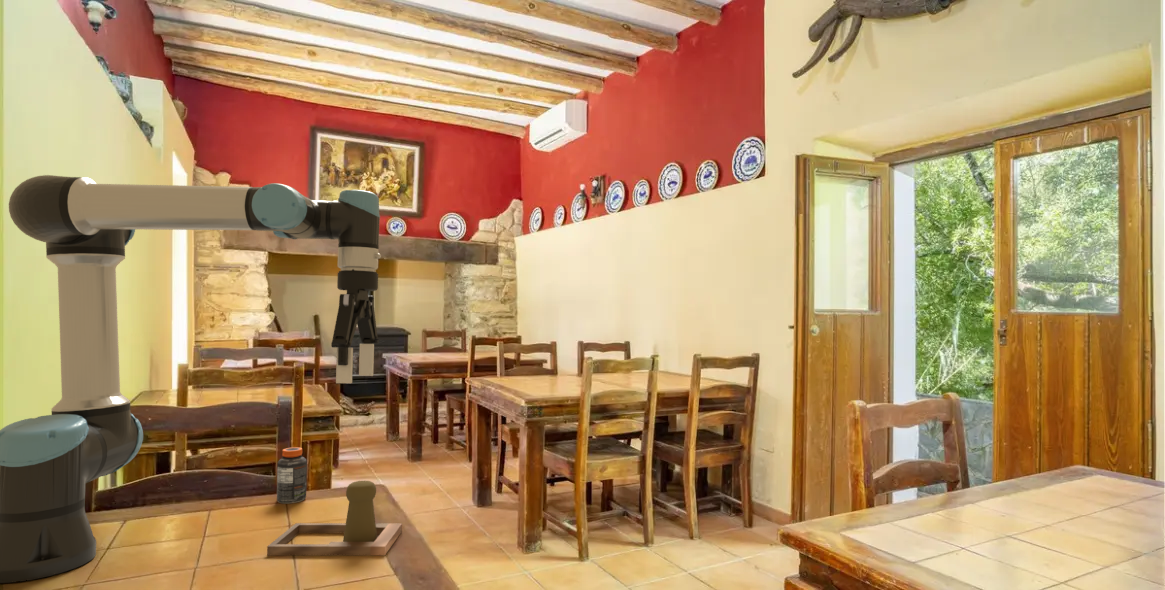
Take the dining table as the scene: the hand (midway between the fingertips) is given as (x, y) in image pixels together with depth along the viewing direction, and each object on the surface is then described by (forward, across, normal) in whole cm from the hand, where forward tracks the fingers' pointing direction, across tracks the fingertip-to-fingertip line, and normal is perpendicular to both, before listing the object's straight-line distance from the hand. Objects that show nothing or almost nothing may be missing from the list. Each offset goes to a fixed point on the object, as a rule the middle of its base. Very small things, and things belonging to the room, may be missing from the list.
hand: (355, 379), depth 125 cm
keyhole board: (+29, -8, 0) cm, 30 cm away
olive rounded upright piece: (+29, -8, -4) cm, 30 cm away
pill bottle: (+29, +18, +19) cm, 39 cm away
